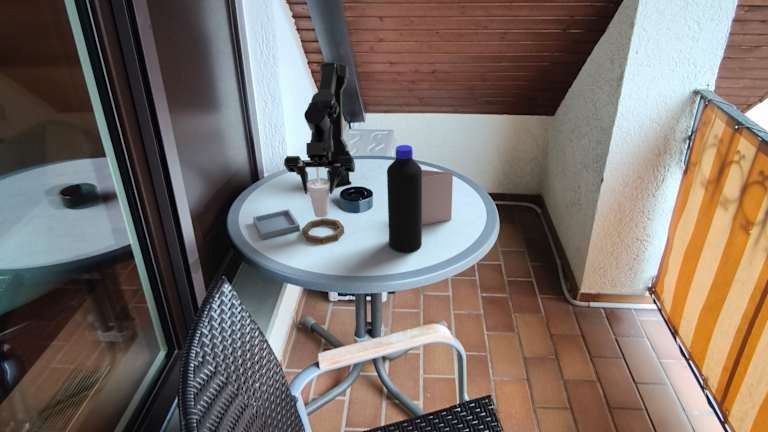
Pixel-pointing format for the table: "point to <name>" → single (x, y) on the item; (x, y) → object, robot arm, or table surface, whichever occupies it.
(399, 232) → the bottle
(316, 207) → the smoothie
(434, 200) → the greeting card
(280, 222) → the tray
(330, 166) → the robot arm
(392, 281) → the table surface
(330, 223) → the collar
